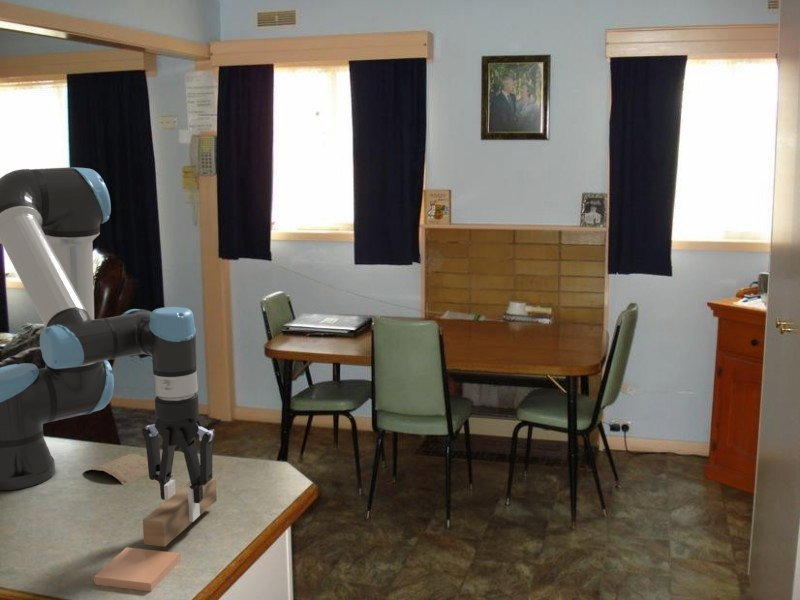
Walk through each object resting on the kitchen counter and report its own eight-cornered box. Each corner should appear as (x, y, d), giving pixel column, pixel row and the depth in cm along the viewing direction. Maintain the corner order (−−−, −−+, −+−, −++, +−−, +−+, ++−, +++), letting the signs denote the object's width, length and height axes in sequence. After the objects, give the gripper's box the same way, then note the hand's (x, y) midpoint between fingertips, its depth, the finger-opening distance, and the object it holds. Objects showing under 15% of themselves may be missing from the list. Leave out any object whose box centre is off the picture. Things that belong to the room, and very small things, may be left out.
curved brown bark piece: (163, 472, 184) (162, 460, 184) (127, 488, 176) (126, 476, 175) (116, 459, 191) (116, 448, 191) (79, 475, 183) (78, 463, 182)
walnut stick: (197, 498, 166) (196, 476, 165) (216, 500, 165) (215, 478, 164) (143, 544, 147) (142, 519, 146) (164, 546, 146) (163, 522, 145)
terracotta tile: (126, 547, 147) (94, 576, 137) (179, 553, 145) (150, 583, 135) (127, 559, 147) (95, 589, 138) (180, 565, 145) (151, 596, 136)
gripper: (121, 397, 150) (130, 521, 154) (211, 404, 146) (216, 531, 150) (144, 385, 157) (151, 503, 161) (229, 391, 153) (234, 513, 158)
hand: (182, 516), depth 156 cm, fingers closed on walnut stick, 4 cm apart
